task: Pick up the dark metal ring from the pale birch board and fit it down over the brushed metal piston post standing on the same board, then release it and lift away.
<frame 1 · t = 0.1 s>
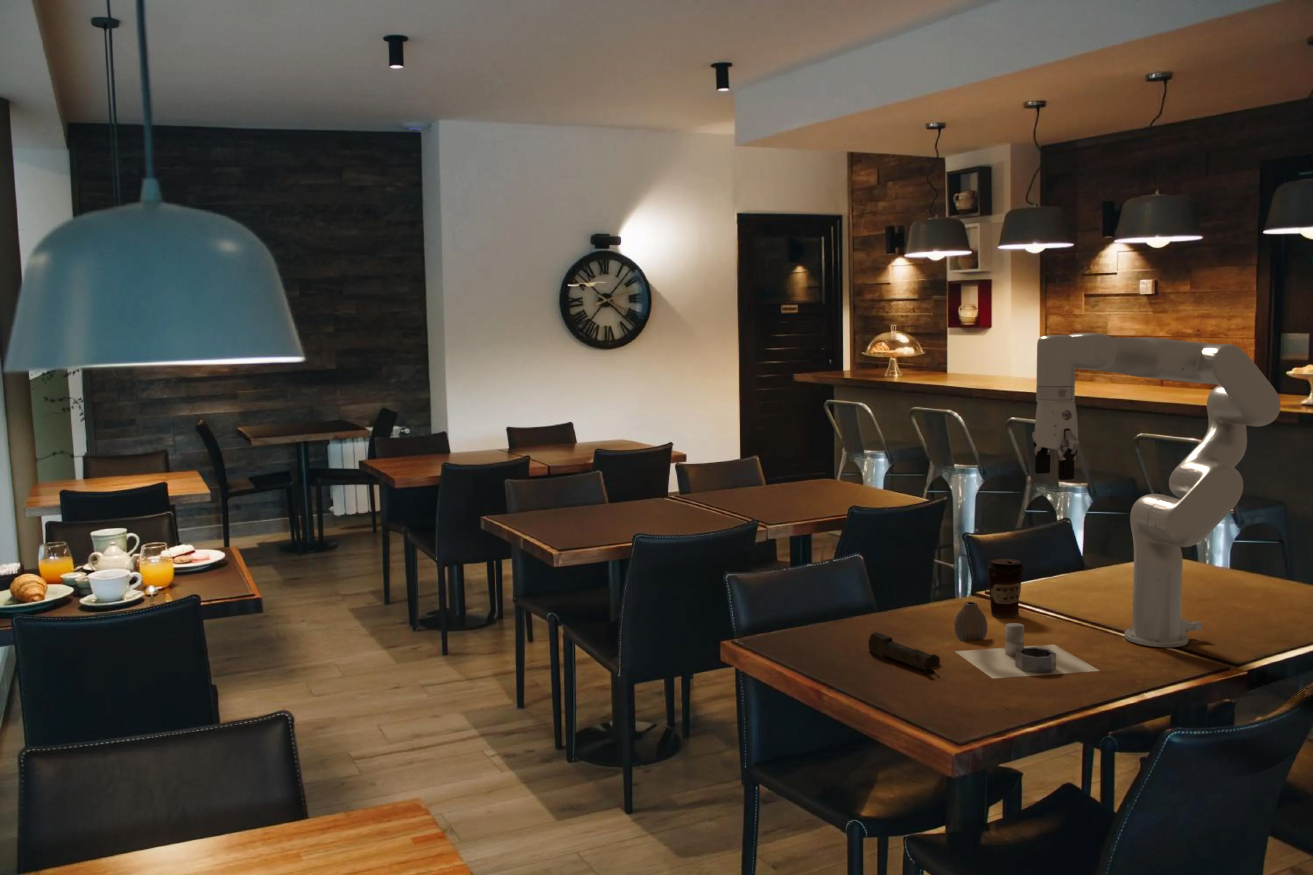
hand: (1054, 476, 232), 37 cm above the table, tool pointing down, fingers open, 9 cm apart
board: (1024, 667, 222), on the table
vase: (970, 643, 241), on the table
hand tool: (898, 664, 228), on the table
ring: (1035, 667, 218), point 1 cm above the table, touching board
coffee cup: (1005, 615, 262), on the table
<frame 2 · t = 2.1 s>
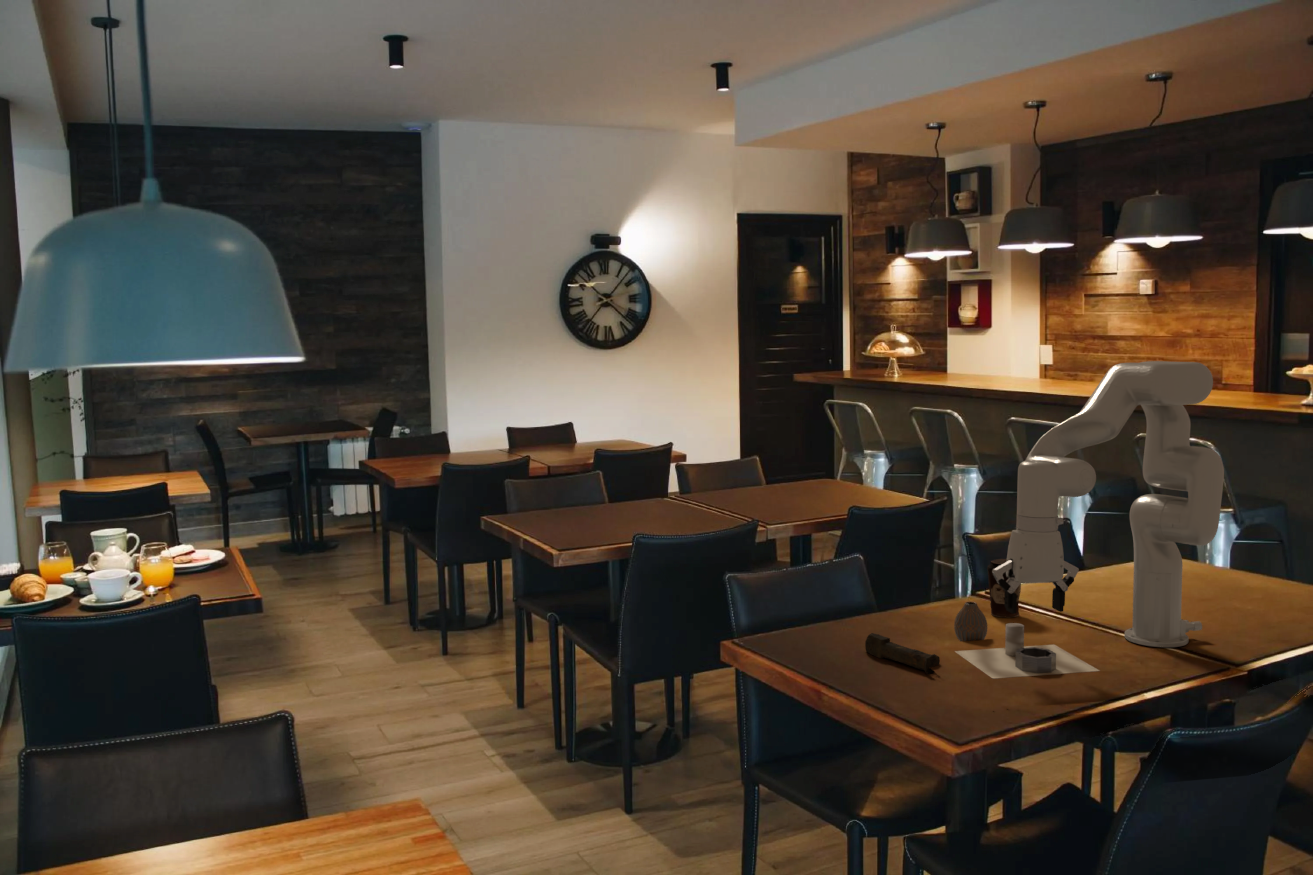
hand: (1034, 610, 216), 13 cm above the table, tool pointing down, fingers open, 9 cm apart
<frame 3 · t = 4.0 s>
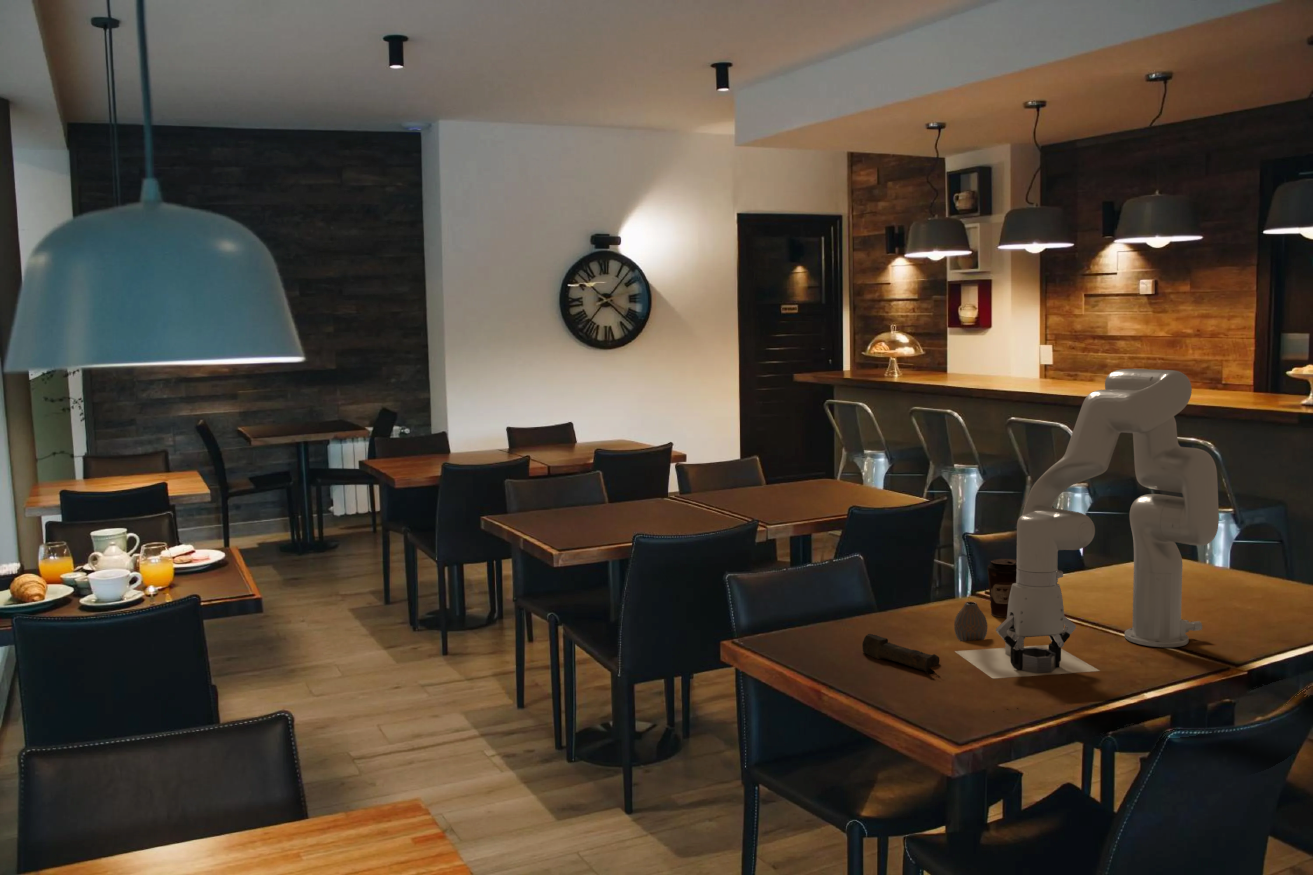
hand: (1035, 665, 218), 2 cm above the table, tool pointing down, fingers closed on ring, 7 cm apart
ring: (1035, 667, 218), point 1 cm above the table, touching board, gripper
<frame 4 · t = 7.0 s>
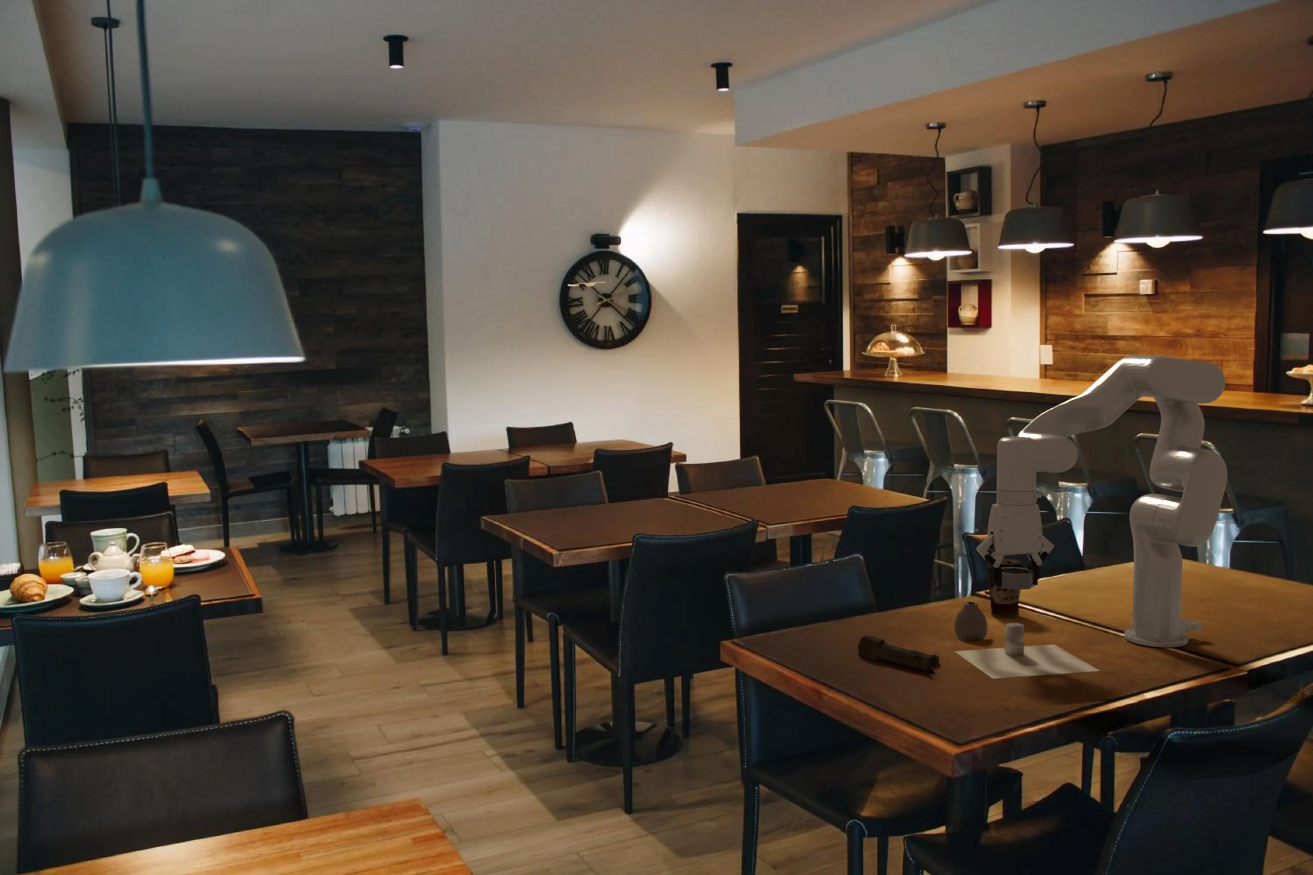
hand: (1014, 584, 225), 16 cm above the table, tool pointing down, fingers closed on ring, 7 cm apart
ring: (1014, 585, 225), point 16 cm above the table, touching gripper
when the fingers open (4 cm above the table, at t = 10.0 s): ring drops 2 cm, resting on board.
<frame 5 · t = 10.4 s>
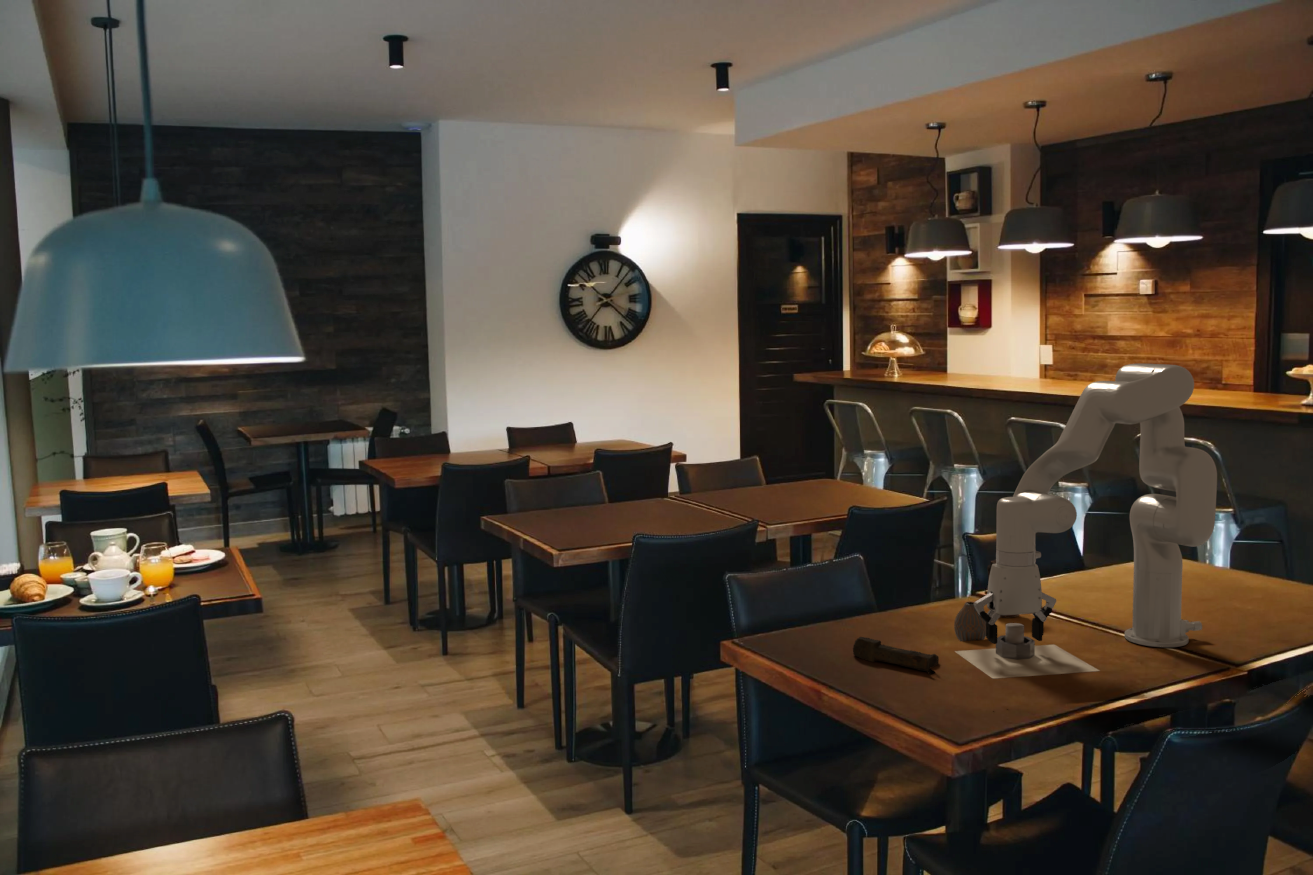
hand: (1014, 640, 226), 4 cm above the table, tool pointing down, fingers open, 9 cm apart
ring: (1015, 654, 227), point 1 cm above the table, touching board
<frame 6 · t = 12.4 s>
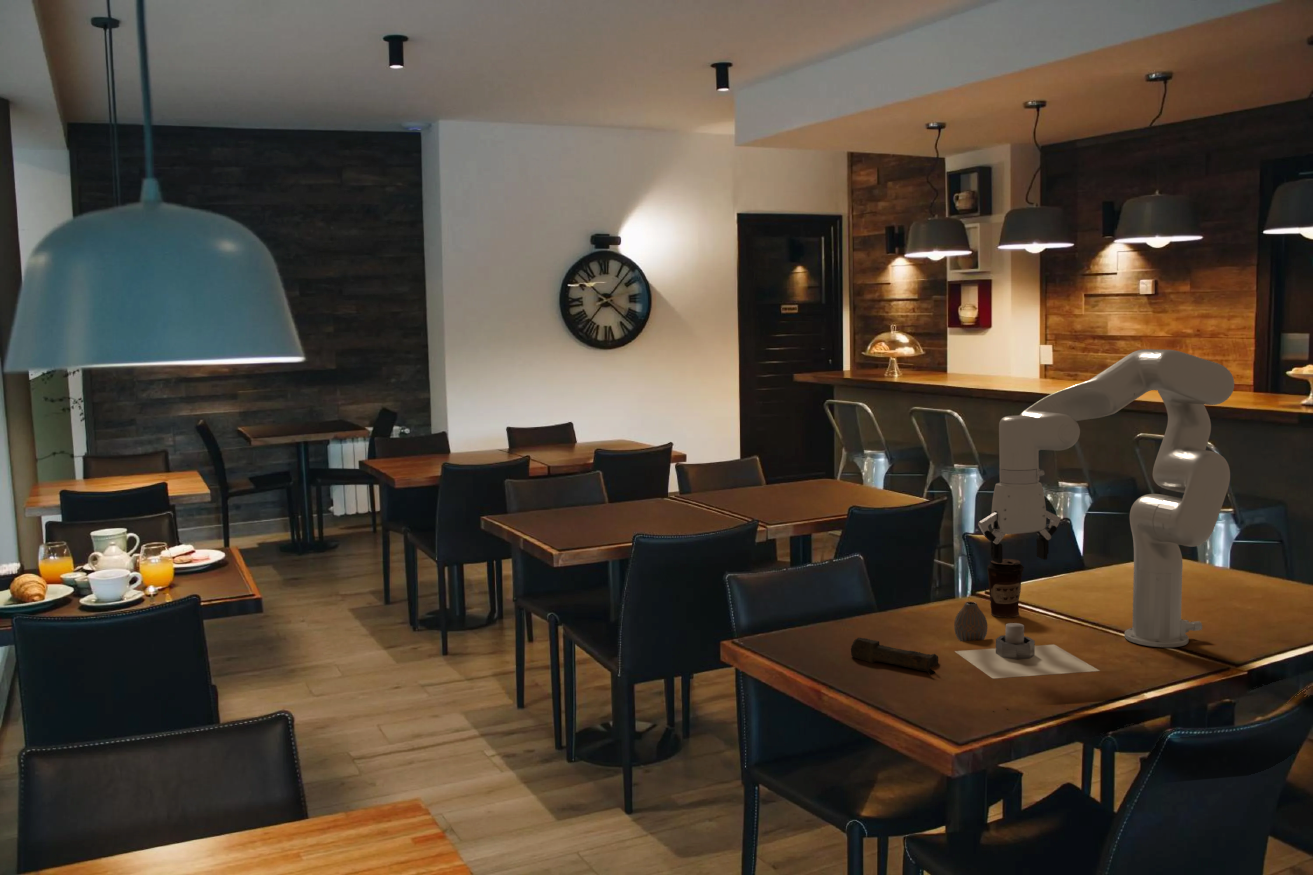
hand: (1019, 560, 226), 21 cm above the table, tool pointing down, fingers open, 9 cm apart
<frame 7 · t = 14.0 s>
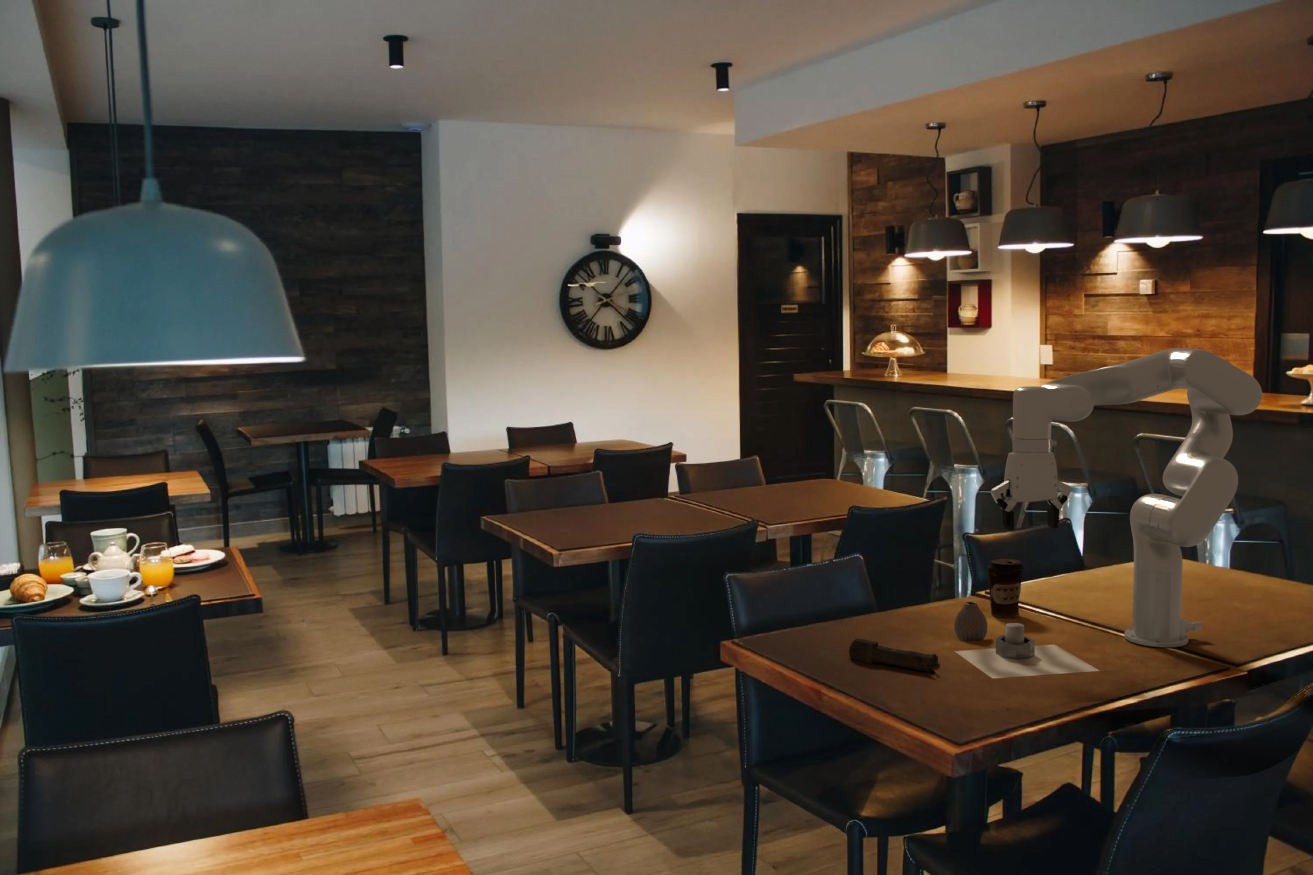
hand: (1030, 528, 230), 26 cm above the table, tool pointing down, fingers open, 9 cm apart
at the end: ring 0.1 cm from the target spot on the board, point 1.5 cm above the board's base; ring tilted 0°; the gripper is holding nothing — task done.
